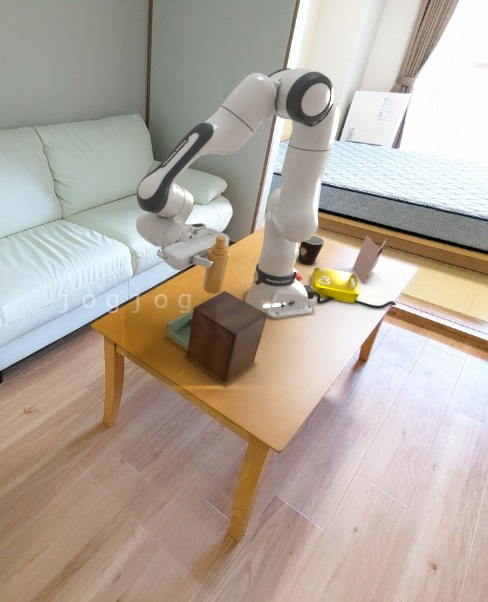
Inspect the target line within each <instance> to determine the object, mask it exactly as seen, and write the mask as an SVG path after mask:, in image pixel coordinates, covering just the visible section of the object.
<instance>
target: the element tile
mask: <svg viewBox="0 0 488 602" xmlns="http://www.w3.org/2000/svg"><path fill="white" fill-rule="evenodd" d="M310 285H311V287H312V288H313V290H314V291H315V292H318V293H319V294H320V296H321V298H324V299H327V298H330V297H333V298H335V299H334V300H333V301H338V302H343V303H346V304H347V303H348V304H355V303H354V302H355V301H356V300H357V301H358V298H359V295H360V287H359V280H358V275H357V274H355V273H350V272H344V271H340V270H334V269H328V268H323V267H319V266H318V267H315V268H314V269H313V271H312V274H311V278H310ZM314 297H317V295H315V294H314Z"/></svg>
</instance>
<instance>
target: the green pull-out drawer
mask: <svg viewBox="0 0 488 602" xmlns="http://www.w3.org/2000/svg"><path fill="white" fill-rule="evenodd" d="M192 316H193V310H189V311H187V312H185V313H184V314H182V315H180V316H177V317H176V318H174V319H173V320H170V321H169V322H167V324H166V326H165V327H166V337H168V338H169V339H170V340H172V341H173V342H175V343H176V344H177V345H179V346H180V347H181V348H183V349H184V350H186V351H187V352H188V345H189V338H190V330H191V323H192Z"/></svg>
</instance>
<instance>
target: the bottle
mask: <svg viewBox="0 0 488 602" xmlns="http://www.w3.org/2000/svg"><path fill="white" fill-rule="evenodd" d="M225 239H226V238H225V237H224V236H217V237H216V243H215V244H213V245H212V248H211V249H209V251H208V258H210V259H211V260H213V261H214V265H213V266H212V267H210V268H207V267H205V271H204V278H203V284H202V289H203V291H204V292H206V293H209V294H213V295H214V294H216V295H217V294H220V293H222V292H223V286H224V281H225V276H226V271H227V265H228V260H229V259H228V255H229V253H230V252H229V251H228V248H227V247H226V246H225V245H224V244H225ZM208 258H206V259H208Z"/></svg>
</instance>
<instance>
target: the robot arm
mask: <svg viewBox="0 0 488 602" xmlns="http://www.w3.org/2000/svg"><path fill="white" fill-rule="evenodd" d="M334 91H335V90H334V86H333V82H332V81H331V79H330V78H329V77H328V76H327V75H325V74H324V73H323V72H319V71H313V70H310V69H307V68H289V67H285V68H280V69H278V70H275V71H274V72H272V73H270V74H269V75H266V74H264V73H260V72H253V73H250V74H248V75H247V76H246V77H245V78H243V79H242V80H241V82H240V83H238V85H237V86H236V87H235V88H234V89H233V90H232V91H231V92H230V93H229V95H228V96H227V97H226V98H225V99H224V100H223V102H222V103H221V105H220V106H218V109H217V110H216V111H215V112H214V113H213V114H212V115H211V116H210V117H208V118H207V120H204V121H203V122H200V123H198V124H197V125H195V126H194V127H193V128H191V129H190V130H189V131H188V132H187V133H186V135H185V136H184V137H183V138H181V140H180V141H179V142H178V143H176V145H175V146H174V147H173V149H171V151H170V152H169V153H168V154H167V155H166V156H165V158H164V159H163V160H161V162H160V163H158V165H157V166H155V168H154V169H152V170H151V171H150V172H149V173H148V174H146V175H145V176H143V178H142V179H141V180H140V182H139V183H138V185H137V188H136V201H137V204H138V206H139V208H140V209H141V210H143V211H142V212H140V213H139V215H138V216H137V218H136V222H135V229H136V231H137V233H138V235H139V236H140V237H141V238H142V239H144V241H146V242H147V243H149V244H151V245H152V246H155V247H157V248H159V249H157V251H156V256H157V257H158V258H160V259H162V260H163V262H164V263H165V264H167V265H168V266H169V267H171V268H172V269H174V270H175V271H182V270H185V269H187V268H189V267H192V266H193V265H195V266H201V267H205V268H206V267H207V268H210V267H212V266H213V265H214V261H213V260H211V259H210V258H208V251H209V249H211V248H212V245H213V244H215V243H216V237H217V236H224V237H225V238H226V239H225V244H224V245H225V246H226V247H227V249H228V248H229V244H230V237H229V235H228V234H226V233H224V232H222V231H220V230H218V229H214V228H212V227H207V225H206V223H204V222H199V223H186V222H187V221H188V219H189V217H190V215H191V214H192V212H193V209H194V205H195V204H194V203H195V200H194V196H193V194H192V193H191V191H189V190H188V189H186V188H184V187H183V186H181V185H180V184H177V183H175V182H176V181H177V180H178V179H179V178H180V176H182V175H183V173H184V172H185V171H186V170H187V169H188V168H189V167H190V166H191V165H192V164H193V163H194V162H195V161H196V160H197V159H199V158H201V157H202V156H206V155H220V156H226V155H231V154H235V153H237V152H238V151H239V150H241V149H242V148H243V147H244V146H245V145H246V144H247V143H248V141H249V140H250V139H251V138H252V136H254V134H255V133H256V132H257V130H258V129H259V128H260V126H261V124H262V123H263V122H264V121H265V120H266V119H267V118H269V117H271V116H272V115H275V116H276V117H279V118H281V119H283V120H291V126H292V127H291V128H292V129H291V133H290V137H289V141H288V144H287V147H286V151H285V156H284V160H283V163H282V167H281V172H280V173H281V174H280V176H281V177H280V180H281V181H280V186H279V187H276V188H275V189H273V190H272V191H271V192H270V193H269V194H268V196H267V199H266V213H265V219H264V220H265V221H264V229H263V239H262V240H263V241H262V242H263V243H262V248H261V251H260V255H259V259H258V262H257V264H256V267H255V269H254V272H253V281H252V283H251V286H250V288H249V289H248V292H247V293H246V295H245V297H244V302H246V303H248V304H250V305H252V306H253V307H255V308H257V309H259V310H261V311H262V312H264V313H266V314H267V317H269V318H270V319H273V320H274V319H282V318H290V317H297V316H304V315H309V314H312V312H313V305H312V303H311V301H310V300H313V299H314V297H315V295H317V296H316V297H317V298H316V303H317V304H320V305H321V304H325V303H327V302H329V301H335V300H334V299H335V298H333V297H330V298H324V299H323V300H321V298H322V297H321V296H320V294H319V293H318V292H315V291H314V290H313V288H312V287H311V284H307V285H306V284H304V285H303V284H302V282H301V281H302V280H303V278H304V277H303V276H302V274H301V273H298V270H297V269H295V266H296V261H297V260H298V256H299V247H300V244H301V242H304V241H306V240H308V239H310V238H311V237H312V236H315V235H316V233H317V231H318V228H319V206H320V199H321V190H322V182H323V177H324V175H325V171H326V168H327V165H328V161H329V158H330V155H331V151H332V149H333V146H334V141H335V137H336V134H337V129H338V123H339V115H340V111H339V108H338V106H337V105H336V104H335V103H334V101H333V100H334ZM230 257H231V252H229V255H228V260H229V259H230ZM207 258H208V259H207ZM314 294H315V295H314ZM353 304H357V305H362V306H364V307H368V308H371V309H384V308H387V307H388V306H391V305H392V306H397V303H396V302H395V301H394V300H389V301H386V303H384V304H382V305H381V304H380V305H375V304H371V303H367V302H363V301H362V300H361V301H360V300H358V299H357V300H356V301H355V302H354V303H353Z"/></svg>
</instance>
